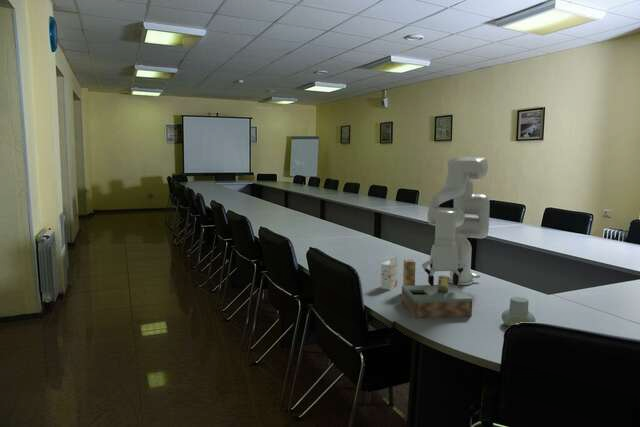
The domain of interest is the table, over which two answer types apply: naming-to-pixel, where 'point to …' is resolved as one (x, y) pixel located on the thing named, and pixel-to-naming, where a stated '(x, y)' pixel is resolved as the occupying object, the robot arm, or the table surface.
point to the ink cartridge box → (389, 273)
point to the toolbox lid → (437, 292)
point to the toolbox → (436, 307)
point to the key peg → (409, 273)
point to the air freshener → (517, 312)
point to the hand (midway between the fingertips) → (443, 284)
